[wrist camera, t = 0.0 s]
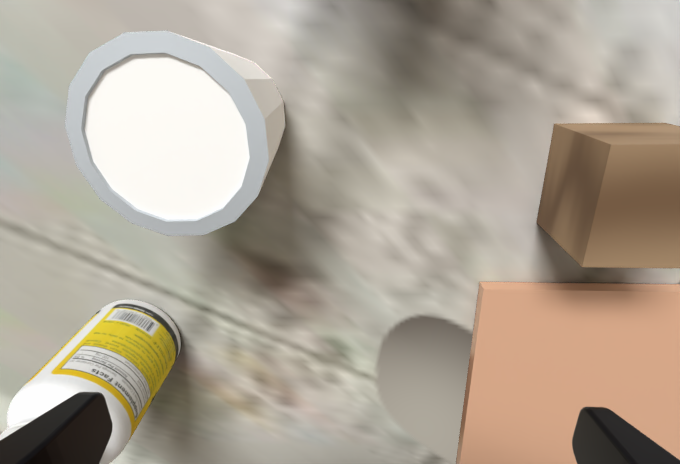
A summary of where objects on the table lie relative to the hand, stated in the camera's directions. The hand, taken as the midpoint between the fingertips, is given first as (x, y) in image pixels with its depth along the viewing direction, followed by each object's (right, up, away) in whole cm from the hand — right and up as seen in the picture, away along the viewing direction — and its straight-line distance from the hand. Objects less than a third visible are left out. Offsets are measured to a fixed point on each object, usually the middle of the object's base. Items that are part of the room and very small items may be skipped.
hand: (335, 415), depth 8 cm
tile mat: (+15, -6, +18) cm, 24 cm away
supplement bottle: (-12, -3, +18) cm, 22 cm away
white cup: (-5, +9, +13) cm, 16 cm away
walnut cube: (+13, +6, +13) cm, 19 cm away
